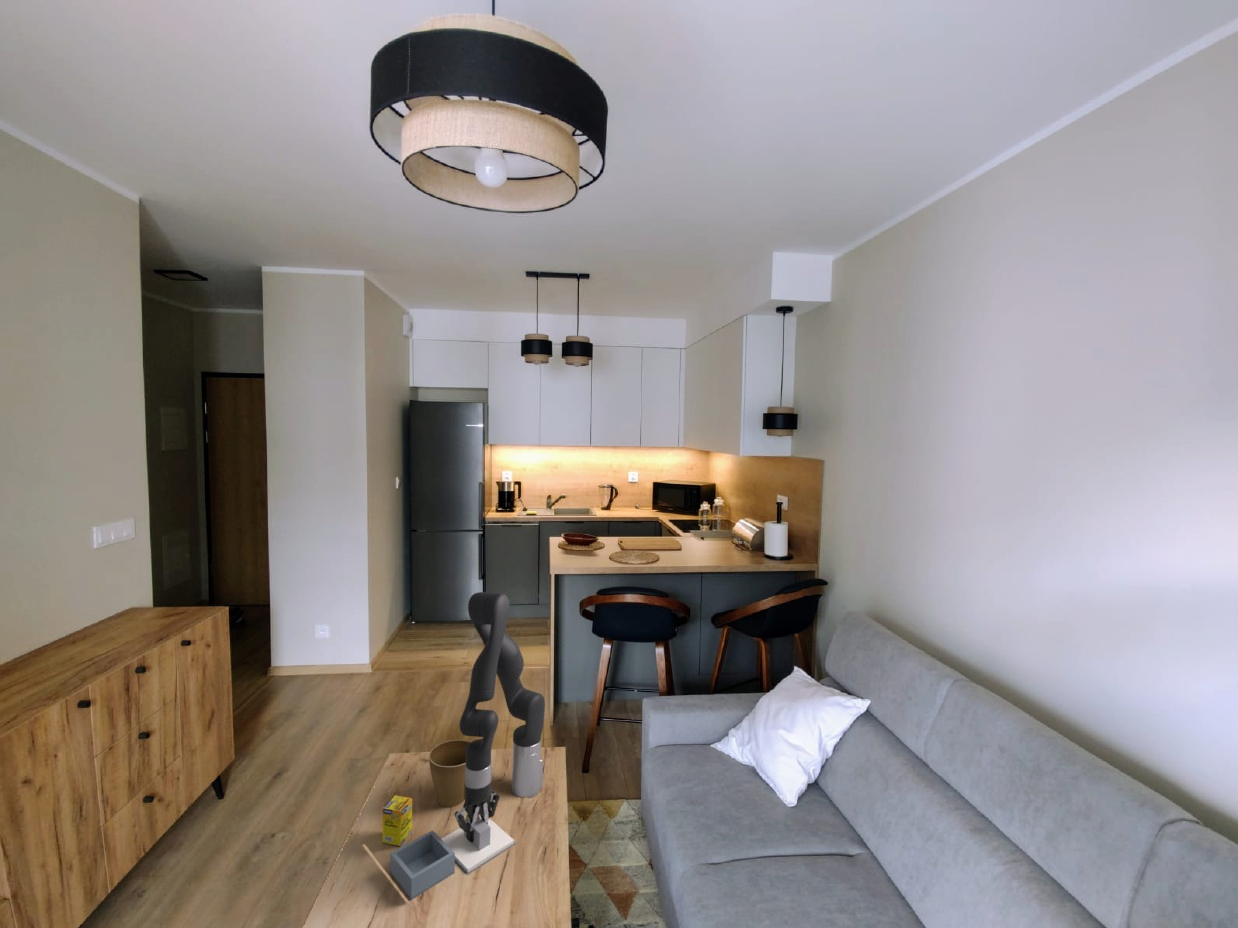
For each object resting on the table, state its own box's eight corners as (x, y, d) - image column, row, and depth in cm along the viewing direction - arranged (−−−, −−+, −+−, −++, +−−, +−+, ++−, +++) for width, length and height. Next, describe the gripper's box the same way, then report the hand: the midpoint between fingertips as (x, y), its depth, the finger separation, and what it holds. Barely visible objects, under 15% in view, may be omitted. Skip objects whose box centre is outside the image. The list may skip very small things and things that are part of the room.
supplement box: (400, 848, 154) (400, 811, 153) (381, 845, 155) (381, 807, 154) (412, 833, 160) (412, 797, 159) (394, 830, 161) (394, 794, 160)
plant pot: (425, 819, 166) (426, 768, 165) (430, 788, 180) (431, 741, 179) (476, 813, 169) (477, 763, 168) (477, 783, 184) (477, 737, 183)
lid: (484, 817, 167) (485, 798, 166) (514, 843, 156) (514, 823, 156) (439, 842, 156) (439, 822, 155) (467, 872, 145) (468, 851, 145)
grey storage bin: (432, 850, 153) (432, 830, 153) (454, 874, 145) (454, 853, 145) (390, 874, 145) (390, 852, 144) (411, 901, 137) (411, 879, 136)
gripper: (491, 762, 163) (490, 818, 164) (448, 783, 152) (447, 843, 153) (506, 774, 158) (505, 831, 158) (462, 796, 147) (461, 857, 148)
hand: (476, 836), depth 156 cm, fingers closed on lid, 3 cm apart
